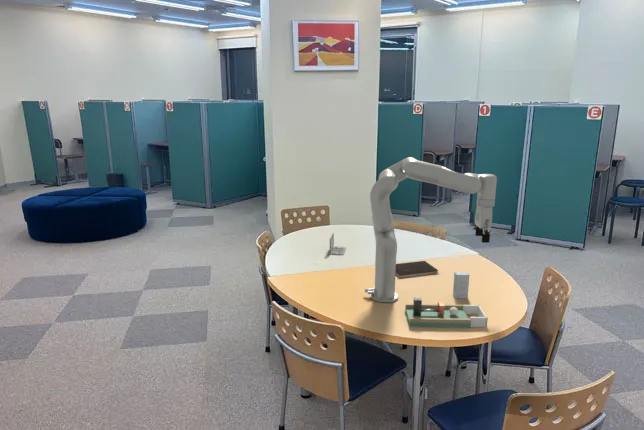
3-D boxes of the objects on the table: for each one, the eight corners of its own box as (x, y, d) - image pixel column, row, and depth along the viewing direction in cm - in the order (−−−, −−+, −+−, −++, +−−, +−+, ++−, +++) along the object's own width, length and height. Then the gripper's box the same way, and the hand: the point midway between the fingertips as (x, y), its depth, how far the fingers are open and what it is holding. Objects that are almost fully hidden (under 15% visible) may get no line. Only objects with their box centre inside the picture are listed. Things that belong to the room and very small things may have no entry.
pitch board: (409, 326, 193) (409, 318, 192) (405, 311, 206) (405, 303, 205) (470, 327, 192) (471, 319, 191) (462, 312, 205) (462, 304, 204)
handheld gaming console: (343, 255, 277) (344, 239, 274) (328, 254, 278) (328, 238, 276) (346, 248, 290) (346, 233, 287) (331, 247, 291) (331, 232, 288)
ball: (450, 317, 197) (450, 309, 196) (448, 313, 200) (448, 305, 199) (458, 317, 196) (459, 309, 196) (456, 313, 200) (457, 305, 199)
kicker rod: (414, 316, 197) (414, 301, 195) (412, 311, 201) (413, 296, 199) (443, 316, 196) (445, 301, 194) (441, 311, 200) (442, 297, 199)
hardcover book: (438, 274, 249) (438, 270, 248) (399, 279, 243) (399, 275, 242) (424, 264, 264) (424, 260, 263) (386, 268, 258) (386, 264, 257)
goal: (469, 326, 193) (470, 317, 192) (462, 313, 204) (463, 304, 203) (486, 326, 192) (487, 318, 191) (478, 313, 204) (479, 305, 203)
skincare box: (464, 294, 223) (466, 271, 220) (467, 298, 219) (469, 274, 216) (452, 294, 223) (454, 271, 219) (455, 298, 218) (456, 275, 215)
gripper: (471, 197, 213) (468, 233, 218) (482, 206, 197) (479, 245, 201) (488, 197, 213) (484, 233, 217) (500, 206, 196) (496, 245, 201)
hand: (482, 239), depth 209 cm, fingers open, 9 cm apart
